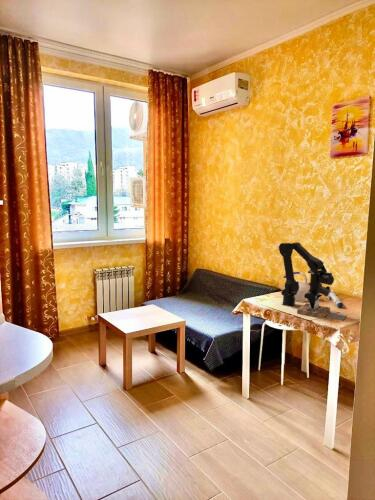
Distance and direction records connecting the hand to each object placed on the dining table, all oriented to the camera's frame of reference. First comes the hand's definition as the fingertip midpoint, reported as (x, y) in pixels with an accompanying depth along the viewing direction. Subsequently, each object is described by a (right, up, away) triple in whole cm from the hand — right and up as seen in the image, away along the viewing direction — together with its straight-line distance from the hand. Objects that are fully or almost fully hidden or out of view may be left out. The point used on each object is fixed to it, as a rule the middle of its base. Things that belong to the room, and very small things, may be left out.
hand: (313, 307), depth 211 cm
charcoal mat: (+10, -4, -7) cm, 13 cm away
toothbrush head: (+21, -1, +23) cm, 31 cm away
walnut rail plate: (0, -3, 0) cm, 3 cm away
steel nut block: (0, -3, 0) cm, 3 cm away
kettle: (+1, +1, +34) cm, 34 cm away
